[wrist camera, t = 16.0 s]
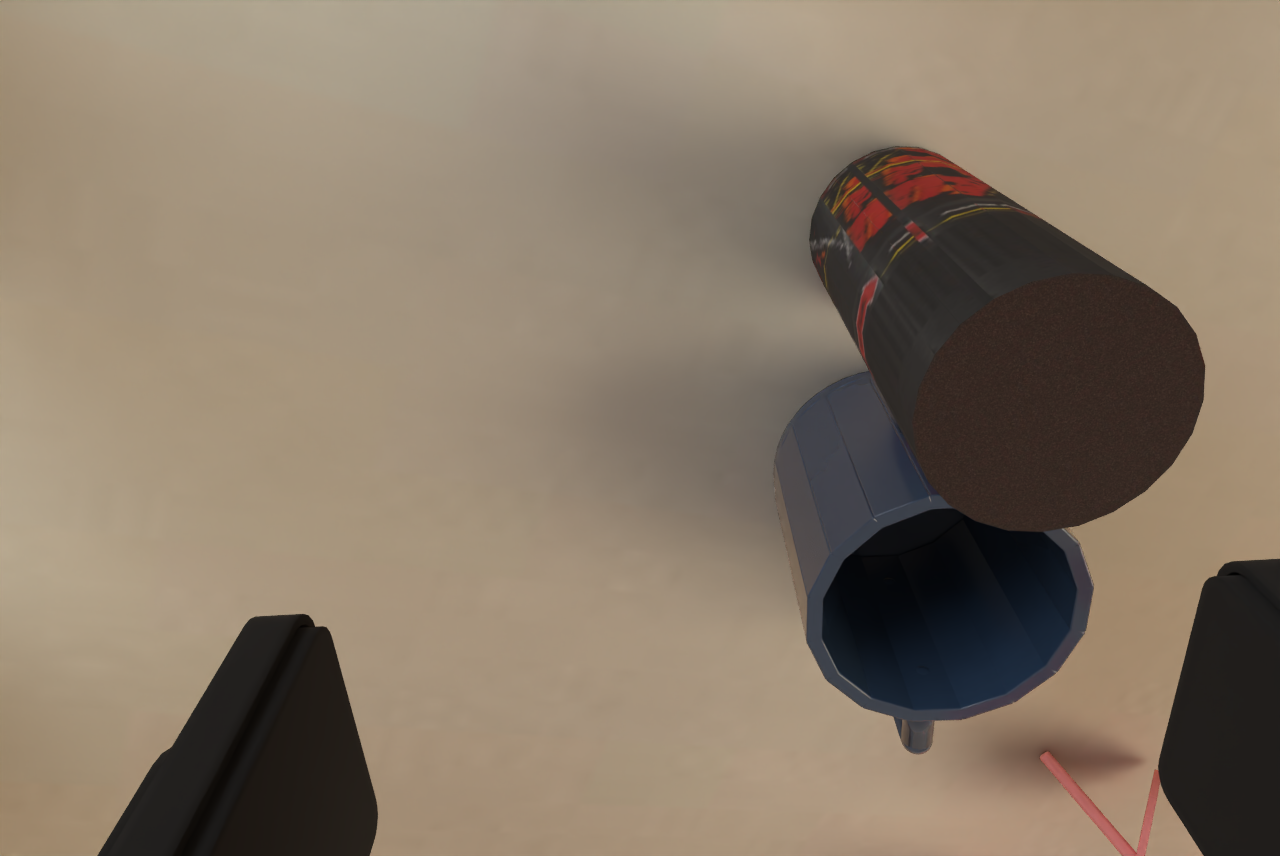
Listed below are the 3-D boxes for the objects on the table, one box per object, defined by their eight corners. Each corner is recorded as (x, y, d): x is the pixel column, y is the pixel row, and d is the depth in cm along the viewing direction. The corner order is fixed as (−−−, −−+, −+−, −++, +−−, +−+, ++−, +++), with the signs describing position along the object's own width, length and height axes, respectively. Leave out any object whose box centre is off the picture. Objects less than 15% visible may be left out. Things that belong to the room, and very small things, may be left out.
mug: (773, 373, 35) (809, 500, 27) (1002, 362, 35) (1113, 487, 26) (772, 621, 40) (802, 795, 32) (972, 614, 40) (1057, 787, 31)
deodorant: (1012, 191, 32) (1268, 346, 18) (919, 337, 34) (1086, 569, 21) (863, 116, 31) (1020, 222, 17) (779, 272, 33) (859, 470, 20)
